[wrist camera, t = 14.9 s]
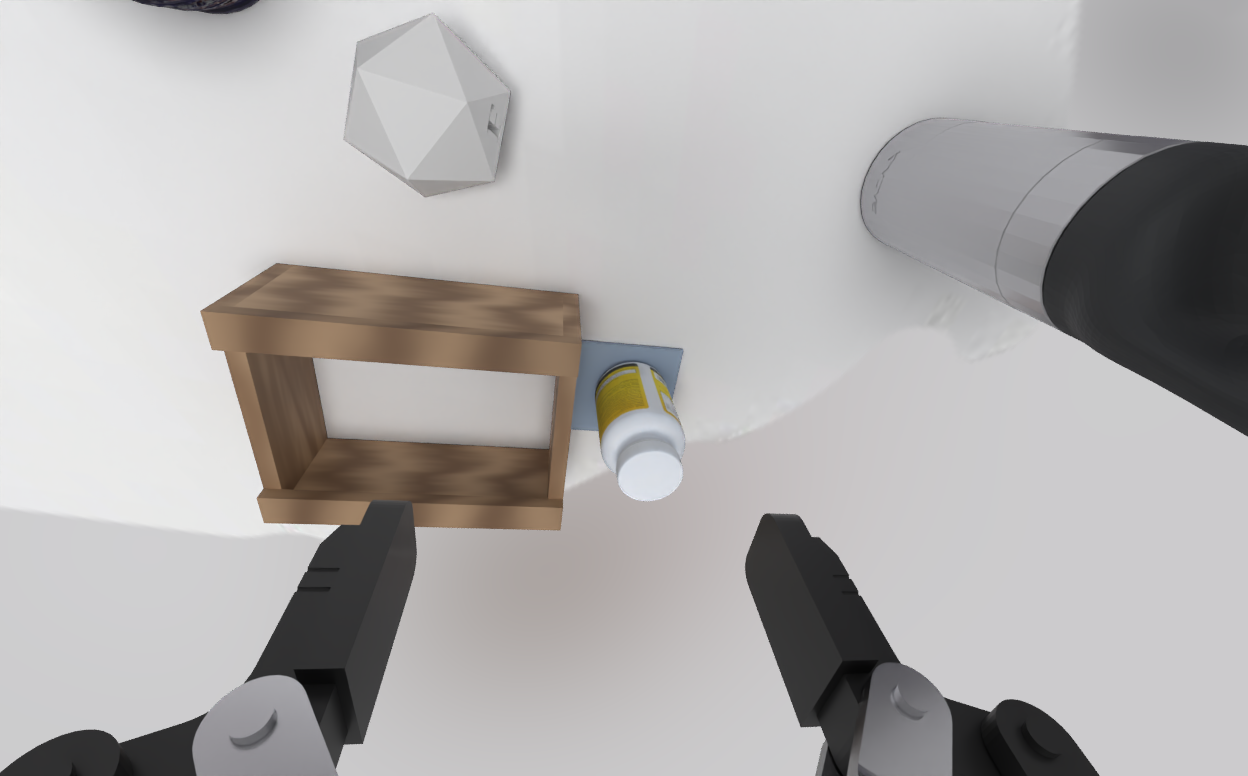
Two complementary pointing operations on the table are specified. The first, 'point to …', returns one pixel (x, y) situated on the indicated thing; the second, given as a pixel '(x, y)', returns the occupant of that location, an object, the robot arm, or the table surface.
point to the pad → (605, 357)
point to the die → (426, 108)
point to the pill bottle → (639, 431)
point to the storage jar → (203, 5)
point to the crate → (400, 334)
